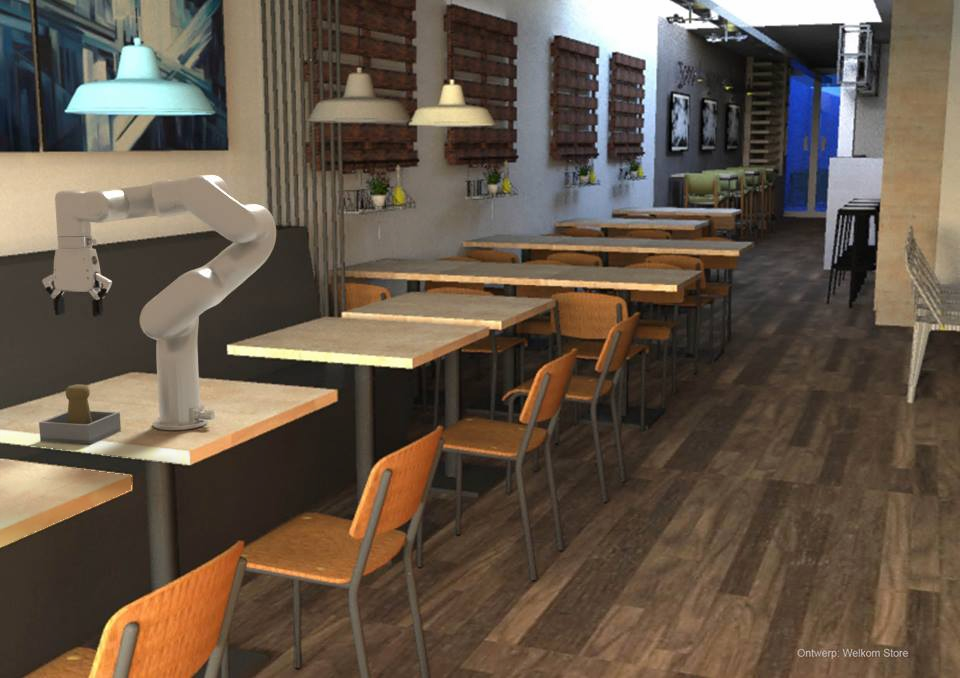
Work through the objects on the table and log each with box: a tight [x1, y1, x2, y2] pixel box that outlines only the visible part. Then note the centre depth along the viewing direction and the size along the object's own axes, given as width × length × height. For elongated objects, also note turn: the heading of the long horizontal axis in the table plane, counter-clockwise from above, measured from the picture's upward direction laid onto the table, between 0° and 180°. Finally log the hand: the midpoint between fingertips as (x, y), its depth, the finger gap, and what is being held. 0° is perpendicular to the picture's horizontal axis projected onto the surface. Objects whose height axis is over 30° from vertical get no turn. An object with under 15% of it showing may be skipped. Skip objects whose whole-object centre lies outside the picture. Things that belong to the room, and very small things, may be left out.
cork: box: [65, 383, 92, 424], centre depth 249 cm, size 6×6×11 cm
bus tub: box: [38, 410, 122, 446], centre depth 249 cm, size 13×13×4 cm
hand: (78, 315), depth 257 cm, fingers open, 9 cm apart
